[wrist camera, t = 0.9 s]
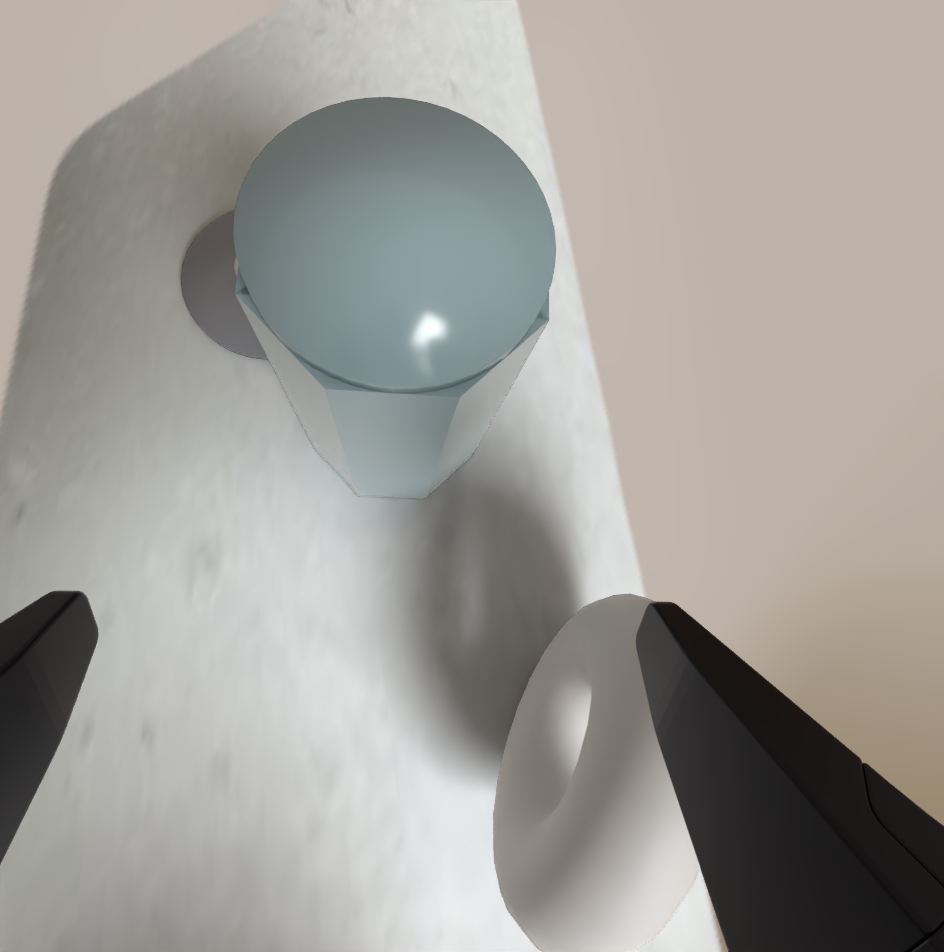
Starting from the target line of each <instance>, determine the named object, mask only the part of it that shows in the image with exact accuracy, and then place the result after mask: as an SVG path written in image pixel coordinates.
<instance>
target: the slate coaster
mask: <svg viewBox="0 0 944 952" xmlns="http://www.w3.org/2000/svg"><path fill="white" fill-rule="evenodd" d="M234 214H235V210H234V211H231V212H229V213H227V214H225V215H223V216H221V217H219V218H218V219H216V220H214V221H213V222H211V223H210V224H209V225H208V226H207V227H206V228H204V229H203V230H202V231H201V232H200V234H199V235H198V236H197V237H196V238H195V240H194V241H193V243H192V244H191V246H190V248H189V250H188V252H187V254H186V256H185V260H184V263H183V267H182V274H181V286H182V292H183V297H184V300H185V303H186V306H187V308H188V310H189V312H190V314H191V316H192V317H193V318H194V320H195V321H196V323H197V324H198V326H199V327H200V328H201V329H202V330H203V331H204V333H205V334H206V335H207V336H209V337H210V338H211V339H212V340H213V341H215V342H216V343H218V344H219V345H221V346H222V347H224V348H226V349H228V350H230V351H232V352H234V353H237V354H240V355H243V356H246V357H252V358H257V359H268V357H267V355H266V354H265V352H264V350H263V348H262V346H261V344H260V342H259V340H258V338H257V336H256V334H255V332H254V330H253V328H252V326H251V324H250V322H249V320H248V318H247V316H246V314H245V312H244V310H243V308H242V306H241V304H240V302H239V300H238V298H237V296H236V295H235V291H236V282H237V276H236V273H235V268H234V264H235V259H236V253H235V244H234V235H233V232H234Z"/></svg>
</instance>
